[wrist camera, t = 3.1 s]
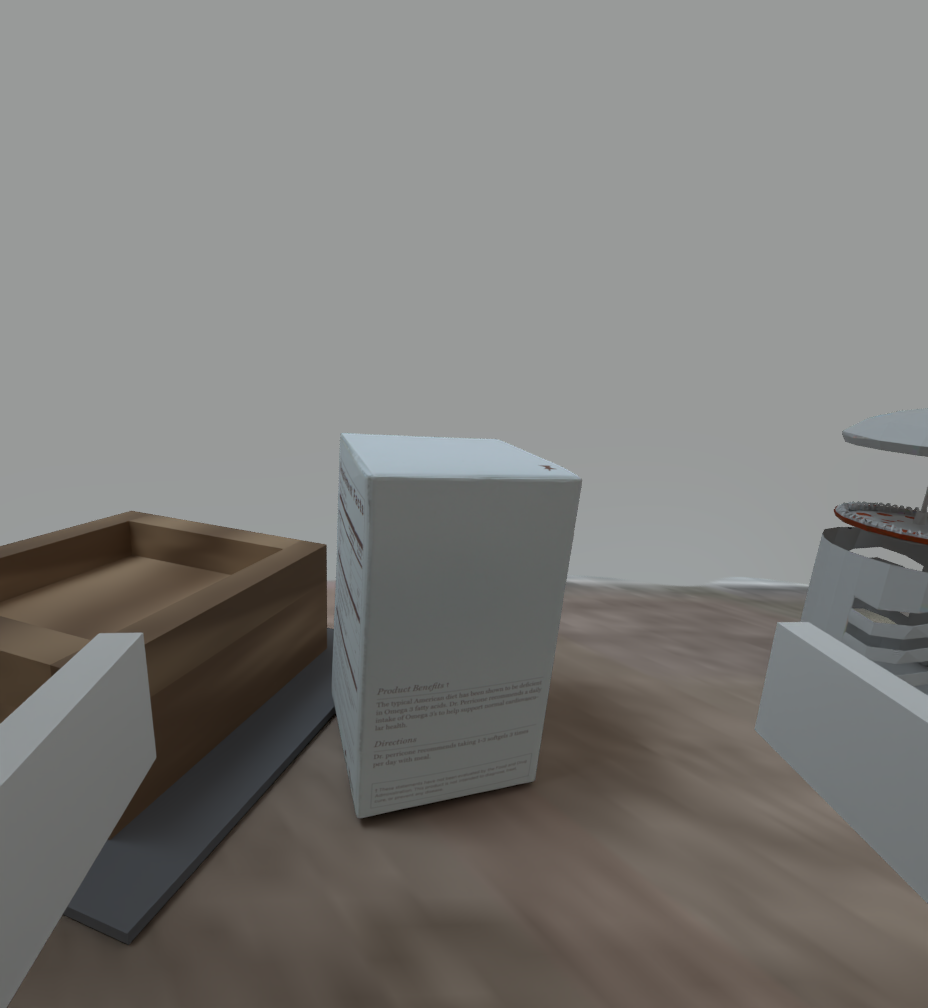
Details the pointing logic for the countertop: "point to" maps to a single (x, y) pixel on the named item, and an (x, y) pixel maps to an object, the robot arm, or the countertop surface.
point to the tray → (166, 622)
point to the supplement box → (445, 613)
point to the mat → (201, 807)
